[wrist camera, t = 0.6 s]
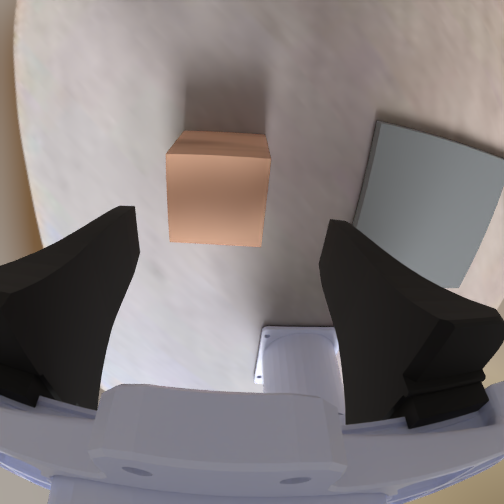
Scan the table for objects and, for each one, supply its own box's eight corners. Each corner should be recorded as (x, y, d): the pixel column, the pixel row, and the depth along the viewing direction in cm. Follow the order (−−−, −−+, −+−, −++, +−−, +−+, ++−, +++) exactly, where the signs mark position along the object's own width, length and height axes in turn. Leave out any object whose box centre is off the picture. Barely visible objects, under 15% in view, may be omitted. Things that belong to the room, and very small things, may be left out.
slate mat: (455, 282, 26) (458, 287, 25) (336, 279, 25) (338, 286, 24) (505, 159, 18) (511, 162, 18) (376, 120, 18) (381, 122, 17)
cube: (257, 205, 21) (261, 247, 17) (184, 201, 21) (169, 241, 17) (265, 134, 18) (271, 158, 14) (184, 130, 18) (165, 153, 14)
